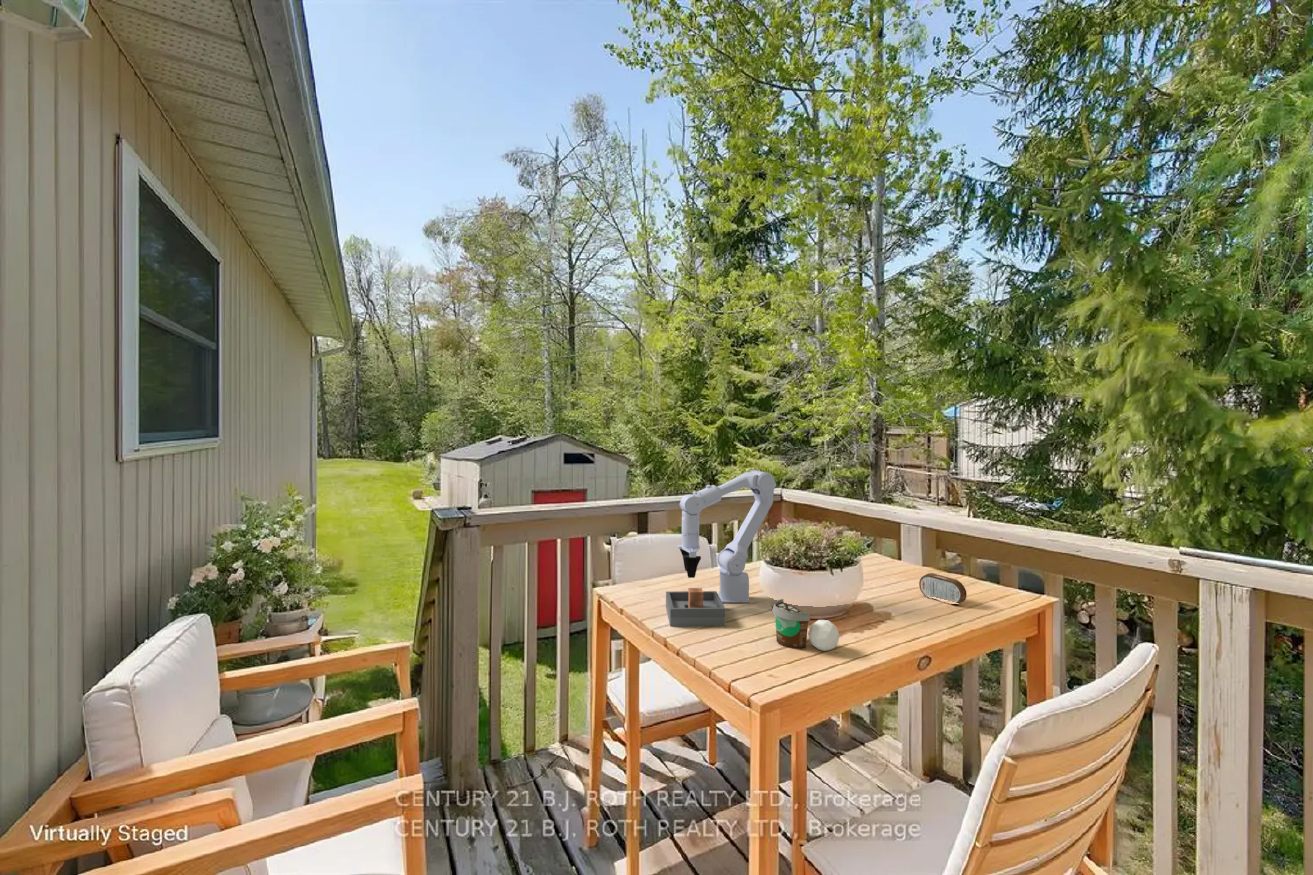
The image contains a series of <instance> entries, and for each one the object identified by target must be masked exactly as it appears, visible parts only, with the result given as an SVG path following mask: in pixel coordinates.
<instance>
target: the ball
mask: <svg viewBox="0 0 1313 875" xmlns="http://www.w3.org/2000/svg"><path fill="white" fill-rule="evenodd" d="M807 636H808V638H809V640H810V642H809V643H810V644H811V645H813V647H815V648H816V649H817V650H819V651H825V652H826V651H827V652H828V651H830V650H833V649H834V648H835V647H837V645H838V643H839V641H840V633H839V630H838V628H837V626H836V625H835V624H834V623H833V622H832V621H830V620H828V619H827V620H826V619H817V620H816V621H815V622H813V623H811V624H810V628H809V630H808V632H807Z"/></svg>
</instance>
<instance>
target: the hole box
mask: <svg viewBox="0 0 1313 875" xmlns="http://www.w3.org/2000/svg"><path fill="white" fill-rule="evenodd" d="M718 594H719V593H718V592H717V591H716V590H703V608H688V591H686V590H683V591H681V590H680V591H677V590H675V591H665V609H666V614H667V618H668V623H669V626H670V627H711V626H713V627H717V626H718V627H720V626H721V627H722V626H723V627H724V626H726V606H725V605H724V603H722V601H721V599H720V597H719V595H718Z"/></svg>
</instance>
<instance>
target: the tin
mask: <svg viewBox="0 0 1313 875" xmlns="http://www.w3.org/2000/svg"><path fill="white" fill-rule="evenodd" d="M918 583H919V585H918V586H919V590H920V592H921V593H922V595H924V596H925V597H926V596H929V597H936V598H940V599H944V600H948V601H952V602H956V603H960V604H962V603H961V602H963V603H964V602H965V600H967V595H968V594H967V589H966V588H965V586H964V584H963V583H962V582H961V581H959V580H958V579H956V578H953V577H948V576H945V575H941V574H938V573H933V572H929V573H926V574H924V575H922V576H921V577H920V579H919V582H918Z"/></svg>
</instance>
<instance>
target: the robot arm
mask: <svg viewBox="0 0 1313 875" xmlns="http://www.w3.org/2000/svg"><path fill="white" fill-rule="evenodd" d="M744 488H748V489H750V491H751V492H752V494H753V498H754V502H753V505H752V506H751V507H750V510H749V511H748V513H747V515H746V517H745V518H744V520H743V522H742V523H741V525H740V528H739V529H738V531H737V533H736V535H735V537H734V538H733V540H732V541H731V542H729V543H727V544H726V545H725V547H724V549H722V550H721V551H720V552H718V554H717V557H716V558H717V559H716V561H717V564H718V565H719V566H720V569H719V593H717V594H718V595H719V597H720V599H721V601H722V603H723V604H727V603H728V604H729V603H749V602H750V599H749V598H750V578H749V574H748V572H744V571H745V568H746V561H747V559H748V556H749V555H748V549H749V547H750V546H751V543H752V541H753V540H754V538H755V536H756V534H757V532H758V531H759V529H760V527H761V525H762V523H763V522H764V520H765V518H766V516H767V514H768V512H769V510H770V509H771V508H772V506H773V503H774V496H775V495H774V493H775V489H776V488H777V482H776V480H775V478H774V476H773V474H772V473H770V472H768V471H767V472H765V471H761V470H758V469H751V470H750V471H746V472H744V473H741V474H740V475H739V476H736V477H734V478H732V479H730V480H728V481H727V482H724V483H722V484H720V485H718V486H716V485H715V484H712V485H710V484H707V485H705V487H704V488H703V489H701V490H698V491H695V490H694V491H693V492H692V494H685V495H684V496H682V498H680V502H679V508H680V509H681V544H677V548H678V549H679V550H680V553H681V556H682V560H683V565H684V566H683V567H684V570H685V571H686V576H687V578H688V579H692V578H693V579H695V578H696V574H697V569H698V565H699V563H700V561H701V559H702V556H701V555H697V553H698V551H699V550H700V548H701V547H700V513H701V512H702V510H703V509H706V508H708V507H710V506H712V505H714V504H717V503H720V502H721V500H722V498H723V496H726V495H728V494H731V493H733V492H736V491H738V490H741V489H744Z"/></svg>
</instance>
